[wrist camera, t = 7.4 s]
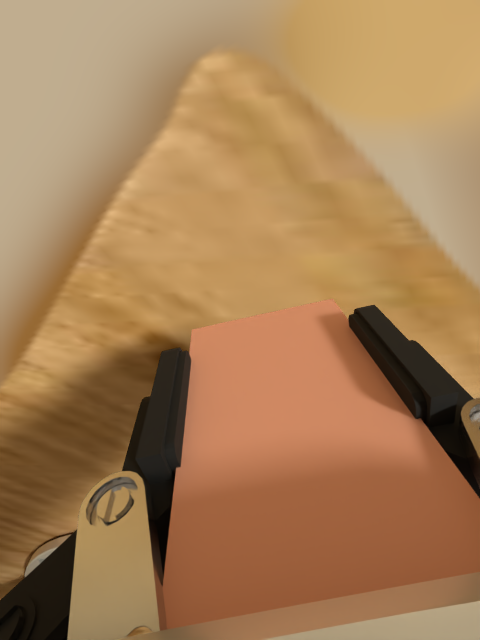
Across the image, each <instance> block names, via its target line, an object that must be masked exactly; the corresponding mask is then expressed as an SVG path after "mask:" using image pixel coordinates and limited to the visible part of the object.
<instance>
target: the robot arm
mask: <svg viewBox="0 0 480 640" xmlns="http://www.w3.org/2000/svg"><path fill="white" fill-rule="evenodd" d="M349 327H350V328H351V330H352V331H353V332H354V334H355V335H356V337H357V338H358V339H359V341H360V342H361V344H362V345H363V346H364V348H365V349H366V351H367V352H368V353H369V355H370V356H371V358H372V359H373V360H374V362H375V363H376V364H377V366H378V367H379V369H380V370H381V371H382V373H383V374H384V376H385V377H386V378H387V380H388V381H389V383H390V384H391V385H392V387H393V388H394V390H395V391H396V392H397V394H398V395H399V397H400V398H401V399H402V401H403V402H404V404H405V405H406V406H407V408H408V409H409V411H410V412H411V413H412V415H413V416H414V418H415V419H419V418H421V419H422V421H423V422H424V424H425V425H426V426H427V428H428V429H429V430H430V432H431V433H432V434H433V436H434V437H435V439H436V440H437V441H438V443H439V444H440V445H441V447H442V448H443V449H444V451H445V452H446V453H447V455H448V456H449V458H450V459H451V460H452V462H453V463H454V464H455V466H456V467H457V468H458V470H459V471H460V472H461V474H462V475H463V477H464V478H465V479H466V481H467V482H468V483H469V485H470V486H471V487H472V489H473V490H474V491H475V493H476V494H477V496H478V497H479V498H480V398H476V399H473V398H472V397H471V396H470V395H469V394H468V393H467V392H466V391H465V390H464V389H463V388H462V387H461V386H460V385H459V384H458V383H457V381H456V380H455V379H454V378H453V377H452V376H451V375H450V374H449V373H448V372H447V371H446V370H445V369H444V368H443V367H442V366H441V365H440V364H439V363H438V362H437V361H436V360H435V359H434V358H433V357H432V356H431V355H430V354H429V353H428V352H427V351H426V350H425V349H424V348H423V347H422V346H421V345H420V344H419V343H417V342H416V341H413V340H411V341H409V340H408V339H407V338H406V337H405V336H404V335H403V334H402V333H401V332H400V331H399V330H398V329H397V328H396V327H395V326H394V325H393V323H392V322H391V321H390V320H389V319H388V318H387V317H386V316H385V315H384V314H383V313H382V312H381V311H380V310H379V309H378V308H377V307H376V306H375V305H370V306H366V307H361V308H357V309H355V310H354V314H351V315H349ZM190 369H191V357H190V355H189V352H188V351H183V352H182V350H181V348H175V349H171V350H166V351H162V353H161V356H160V360H159V364H158V368H157V373H156V377H155V381H154V385H153V389H152V393H151V396H150V397H145V398H144V399H142V402H141V404H140V408H139V412H138V415H137V419H136V422H135V426H134V430H133V433H132V437H131V440H130V444H129V448H128V451H127V455H126V459H125V462H124V466H123V469H122V471H120V472H117V473H114V474H111V475H109V476H108V477H106V478H104V479H102V480H101V481H100V482H99V483H97V484H96V485H95V486H94V487H93V488H92V489H91V490H90V492H89V493H88V494H87V495H86V497H85V499H84V501H83V503H82V504H81V507H80V511H79V515H78V526H77V530H76V531H75V532H74V533H73V534H70V535H66V536H63V537H59V538H57V539H54V540H52V541H50V542H48V543H46V544H44V545H43V546H41V547H40V548H38V549H37V551H36V552H35V553H34V554H33V555H32V557H31V559H30V561H29V563H28V566H27V568H26V571H25V578H24V579H23V580H22V581H21V582H20V583H19V584H18V585H16V586H15V587H14V588H13V589H12V590H11V591H10V592H9V593H8V594H7V595H6V596H5V597H3V598H2V599H1V600H0V640H480V572H476V573H470V574H465V575H459V576H453V577H448V578H442V579H436V580H431V581H425V582H420V583H414V584H409V585H403V586H398V587H392V588H387V589H382V590H376V591H371V592H365V593H360V594H354V595H349V596H343V597H338V598H332V599H327V600H322V601H316V602H311V603H305V604H300V605H295V606H289V607H284V608H278V609H273V610H267V611H262V612H257V613H252V614H246V615H241V616H236V617H230V618H225V619H220V620H215V621H209V622H204V623H199V624H193V625H188V626H183V627H178V628H172V629H167V625H166V621H167V620H166V612H165V604H164V596H163V588H162V587H163V578H164V570H165V561H166V552H167V543H168V535H169V526H170V517H171V509H172V500H173V491H174V482H175V474H176V468H178V467H181V458H182V448H183V438H184V428H185V419H186V409H187V399H188V389H189V379H190Z"/></svg>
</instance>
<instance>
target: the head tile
mask: <svg viewBox="0 0 480 640" xmlns="http://www.w3.org/2000/svg"><path fill="white" fill-rule="evenodd" d="M189 355H190V357H191V369H190V379H189V389H188V399H187V409H186V419H185V428H184V438H183V448H182V458H181V467H178V468H176V474H175V482H174V491H173V500H172V509H171V517H170V526H169V535H168V543H167V552H166V561H165V570H164V578H163V587H162V588H163V596H164V604H165V612H166V620H167V621H166V625H167V629H172V628H178V627H183V626H188V625H193V624H199V623H204V622H209V621H215V620H220V619H225V618H230V617H236V616H241V615H246V614H252V613H257V612H262V611H267V610H273V609H278V608H284V607H289V606H295V605H300V604H305V603H311V602H316V601H322V600H327V599H332V598H338V597H343V596H349V595H354V594H360V593H365V592H371V591H376V590H382V589H387V588H392V587H398V586H403V585H409V584H414V583H420V582H425V581H431V580H436V579H442V578H448V577H453V576H459V575H465V574H470V573H476V572H480V498H479V497H478V496H477V494H476V493H475V491H474V490H473V489H472V487H471V486H470V485H469V483H468V482H467V481H466V479H465V478H464V477H463V475H462V474H461V472H460V471H459V470H458V468H457V467H456V466H455V464H454V463H453V462H452V460H451V459H450V458H449V456H448V455H447V453H446V452H445V451H444V449H443V448H442V447H441V445H440V444H439V443H438V441H437V440H436V439H435V437H434V436H433V434H432V433H431V432H430V430H429V429H428V428H427V426H426V425H425V424H424V422H423V421H422V419H421V418H419V419H415V418H414V416H413V415H412V413H411V412H410V411H409V409H408V408H407V406H406V405H405V404H404V402H403V401H402V399H401V398H400V397H399V395H398V394H397V392H396V391H395V390H394V388H393V387H392V385H391V384H390V383H389V381H388V380H387V378H386V377H385V376H384V374H383V373H382V371H381V370H380V369H379V367H378V366H377V364H376V363H375V362H374V360H373V359H372V358H371V356H370V355H369V353H368V352H367V351H366V349H365V348H364V346H363V345H362V344H361V342H360V341H359V339H358V338H357V337H356V335H355V334H354V332H353V331H352V330H351V328H350V327H349V320H348V319H347V318H346V316H345V315H344V314H343V312H342V311H341V309H340V308H339V307H338V305H337V304H336V303H335V301H334V300H333V299H329V300H324V301H320V302H315V303H310V304H306V305H301V306H297V307H292V308H288V309H283V310H279V311H274V312H270V313H265V314H261V315H256V316H252V317H247V318H242V319H238V320H233V321H229V322H224V323H220V324H215V325H211V326H206V327H202V328H197V329H193V330H192V334H191V343H190V352H189Z"/></svg>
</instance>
